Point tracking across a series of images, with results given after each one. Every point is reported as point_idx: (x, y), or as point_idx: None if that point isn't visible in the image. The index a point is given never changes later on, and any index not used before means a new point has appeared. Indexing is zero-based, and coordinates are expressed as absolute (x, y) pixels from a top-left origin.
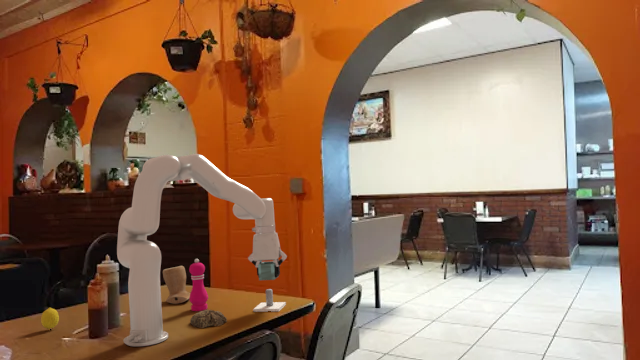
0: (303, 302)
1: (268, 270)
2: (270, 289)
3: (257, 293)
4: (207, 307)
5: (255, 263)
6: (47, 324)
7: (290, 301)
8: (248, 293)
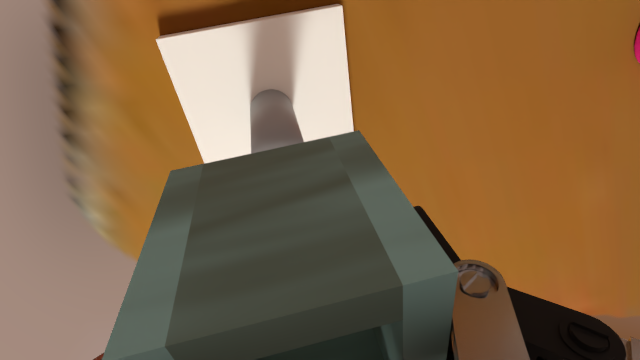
0: (145, 236)
1: (233, 234)
2: None
3: None
4: (637, 47)
5: (528, 323)
6: None
7: None
8: None
